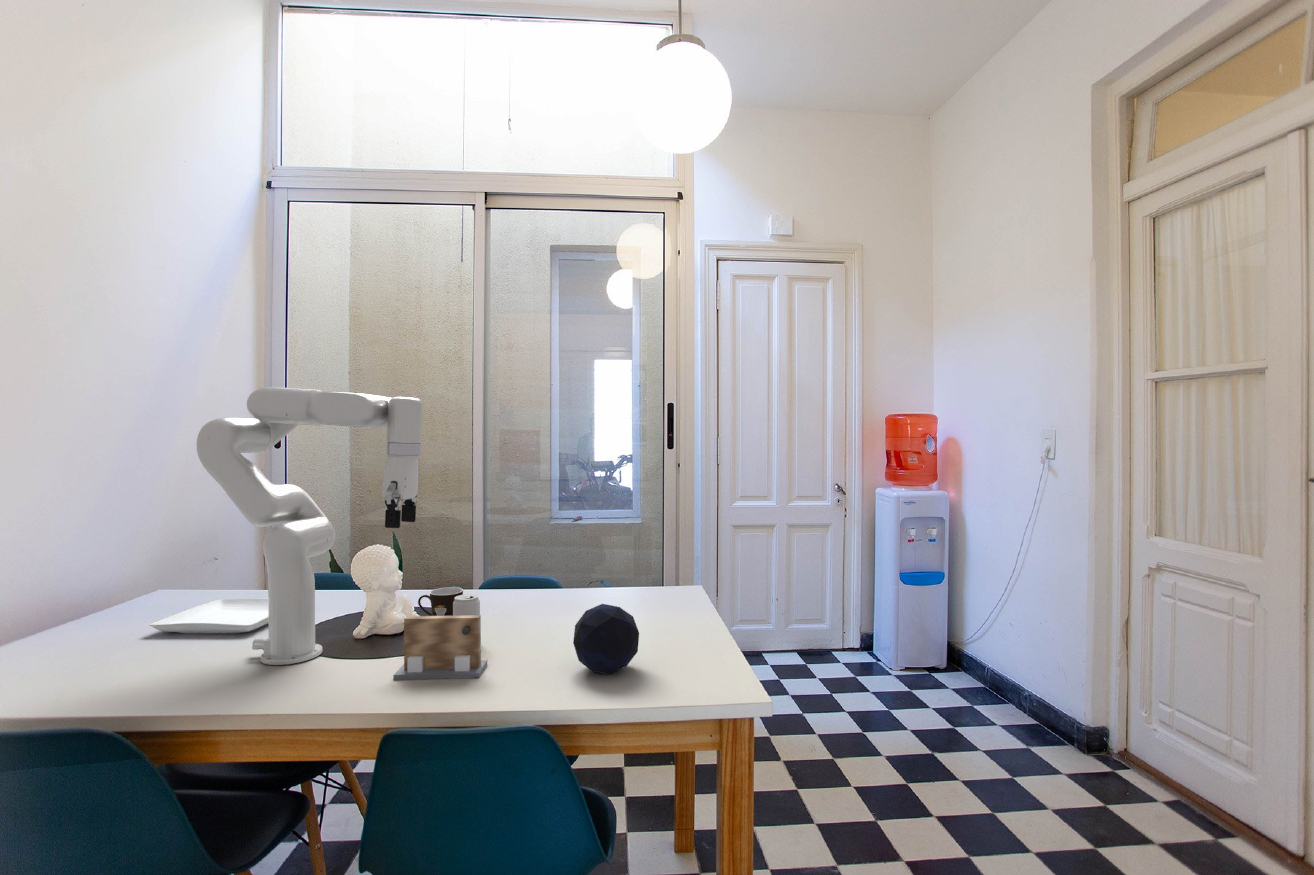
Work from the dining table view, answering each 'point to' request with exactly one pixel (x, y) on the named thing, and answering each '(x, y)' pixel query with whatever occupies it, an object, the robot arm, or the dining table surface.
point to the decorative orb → (606, 638)
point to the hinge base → (460, 670)
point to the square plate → (218, 617)
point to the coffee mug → (442, 601)
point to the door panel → (442, 640)
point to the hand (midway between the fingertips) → (400, 524)
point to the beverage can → (466, 605)
